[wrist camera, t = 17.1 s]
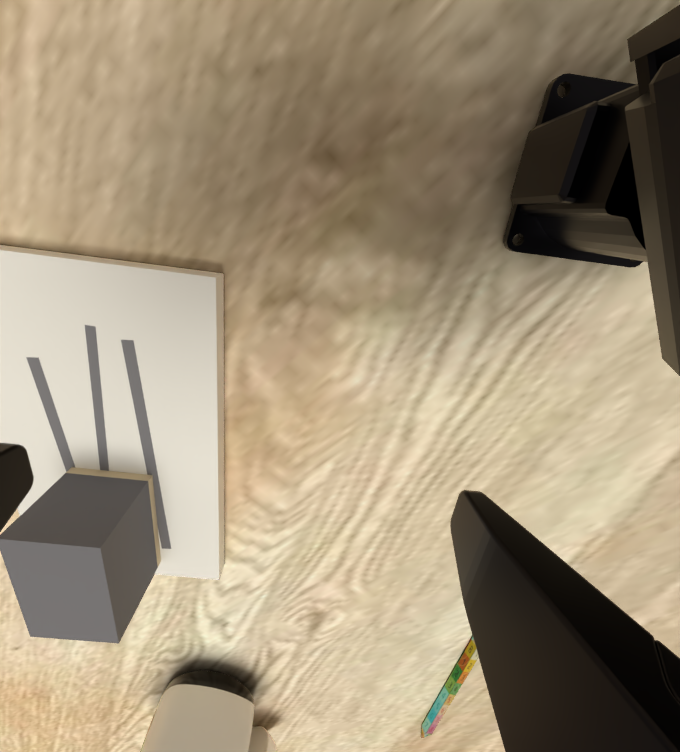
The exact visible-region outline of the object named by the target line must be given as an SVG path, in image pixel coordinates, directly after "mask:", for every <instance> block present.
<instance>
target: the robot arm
mask: <svg viewBox="0 0 680 752" xmlns="http://www.w3.org/2000/svg"><path fill="white" fill-rule="evenodd" d="M627 41H628V48H629V55H630V62H632V61H634V60H635V65H636V72H637V80H638V84H630V83H623V82H617V81H611V80H605V79H599V78H593V77H587V76H580V75H574V74H563V75H561V76H559V77H558V78H556V79H554V80H553V81H552V82H551V83H550V84H549V86H548V88H547V90H546V94H545V97H544V100H543V104H542V107H541V111H540V114H539V118H538V121H537V125H536V127H535V128H534V129H532V130H531V131H530V132H529V134H528V137H527V140H526V144H525V147H524V151H523V154H522V158H521V161H520V165H519V168H518V172H517V175H516V179H515V182H514V186H513V189H512V193H511V197H510V198H511V200H512V203H513V208H512V211H511V214H510V218H509V221H508V225H507V228H506V232H505V235H504V240H503V243H504V246H505V247H506V248H507V249H508V250H511V251H515V252H522V253H529V254H537V255H544V256H551V257H559V258H566V259H573V260H581V261H588V262H595V263H603V264H610V265H617V266H625V267H636V266H638V265H640V264H641V263H642V262H643V261H645V262H648V267H649V273H650V280H651V287H652V293H653V300H654V307H655V313H656V320H657V326H658V333H659V340H660V346H661V353H662V359H663V360H664V361H665V362H666V363H667V364H668V365H669V366H670V367H671V368H672V369H673V370H674V371H675V372H676V373H677V374H678V375H679V376H680V5H679V6H677V7H676V8H674V9H673V10H671V11H670V12H668V13H667V14H665V15H664V16H662V17H661V18H659V19H658V20H656V21H654V22H653V23H651V24H650V25H648V26H647V27H645V28H644V29H642V30H641V31H639V32H638V33H636V34H635V35H633V36H632V37H630V38H629V39H627ZM559 85H562V86H564V88H565V94H564V96H563V98H561V97H559V96H558V93H557V90H558V87H559ZM516 234H519V236H520V241H519V242H518V243H517V244H516V245H514V244H513V242H512V241H513V237H514V236H515V235H516ZM630 259H631V260H630ZM33 481H34V476H33V472H32V468H31V464H30V461H29V457H28V453H27V450H26V448H25V447H24V446H22V445H19V444H11V443H0V532H1V530H2V529H3V527H4V526H5V525H6V523H7V522H8V520H9V519H10V518H11V516H12V515H13V513H14V512H15V511H16V509H17V508H18V506H19V505H20V503H21V502H22V501H23V499H24V498H25V496H26V495H27V494H28V492H29V491H30V489H31V487H32V485H33ZM451 534H452V540H453V545H454V551H455V557H456V563H457V568H458V574H459V580H460V585H461V591H462V596H463V601H464V605H465V609H466V613H467V617H468V620H469V624H470V627H471V631H472V635H473V638H474V642H475V645H476V649H477V652H478V656H479V659H480V663H481V666H482V670H483V674H484V677H485V681H486V684H487V688H488V691H489V695H490V698H491V702H492V705H493V709H494V713H495V716H496V720H497V723H498V727H499V730H500V734H501V737H502V741H503V744H504V748H505V752H680V658H679V657H678V656H676V655H675V654H674V653H673V652H672V651H670V650H669V649H668V648H667V647H666V646H664V645H663V644H662V643H661V642H660V641H658V640H654V637H653V636H652V635H651V634H650V633H649V632H648V631H646V630H645V629H644V628H643V627H642V626H640V625H639V624H638V623H637V622H636V621H635V620H633V619H632V618H631V617H630V616H629V615H627V614H626V613H625V612H624V611H623V610H621V609H620V608H619V607H618V606H617V605H615V604H614V603H613V602H612V601H611V600H610V599H608V598H607V597H606V596H605V595H604V594H602V593H601V592H600V591H599V590H598V589H596V588H595V587H594V586H593V585H592V584H591V583H589V582H588V581H587V580H586V579H585V578H583V577H582V576H581V575H580V574H579V573H577V572H576V571H575V570H574V569H573V568H571V567H570V566H569V565H568V564H567V563H566V562H564V561H563V560H562V559H561V558H560V557H558V556H557V555H556V554H555V553H554V552H552V551H551V550H550V549H549V548H548V547H546V546H545V545H544V544H543V543H542V542H541V541H539V540H538V539H537V538H536V537H535V536H533V535H532V534H531V533H530V532H529V531H527V530H526V529H525V528H524V527H523V526H521V525H520V524H519V523H518V522H517V521H516V520H514V519H513V518H512V517H511V516H510V515H508V514H507V513H506V512H505V511H504V510H502V509H501V508H500V507H499V506H498V505H496V504H495V503H494V502H493V501H492V500H491V499H489V498H488V497H487V496H486V495H485V494H483V493H482V492H478V491H469V490H464V491H462V492H461V493H460V494H459V497H458V500H457V503H456V506H455V509H454V512H453V515H452V518H451Z"/></svg>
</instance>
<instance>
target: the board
mask: <svg viewBox="0 0 680 752" xmlns="http://www.w3.org/2000/svg"><path fill="white" fill-rule="evenodd" d="M0 443H11V444H19V445H22V446H24V447H25V448H26V450H27V453H28V457H29V461H30V464H31V468H32V472H33V476H34V481H33V485H32V487H31V489H30V491H29V492H28V494H27V495H26V496H25V498H24V499H23V501H22V502H21V503H20V505H19V506H18V512H19V515H20V516H21V515H22V514H23V513H24V512H25V511H26V510H27V509H28V508H29V507H30V506H31V505H32V504H33V503H34V502H36V501H37V500H38V499H39V498H40V497H41V496H42V495H43V494H44V493H45V492H46V491H47V490H48V489H49V488H50V487H51V486H52V485H53V484H54V483H56V482H57V481H58V480H59V479H60V478H61V477H62V476H63V475H64V474H65V473H66V472H67V471H68V470H69V469H70V468H71V467H75V468H85V469H95V470H105V471H115V472H125V473H135V474H145V475H152V476H153V486H154V496H155V506H156V515H157V525H158V535H159V545H160V554H161V562H160V564H159V566H158V568H157V570H156V572H155V574H156V575H168V576H179V577H191V578H202V579H214V580H219V579H220V576H221V573H222V570H223V567H224V273H216V272H208V271H201V270H193V269H185V268H177V267H169V266H162V265H154V264H146V263H138V262H130V261H123V260H115V259H107V258H99V257H91V256H84V255H76V254H68V253H60V252H52V251H45V250H37V249H29V248H21V247H14V246H6V245H0Z"/></svg>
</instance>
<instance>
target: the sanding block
mask: <svg viewBox="0 0 680 752" xmlns="http://www.w3.org/2000/svg"><path fill="white" fill-rule="evenodd" d="M0 551H1V554H2V557H3V560H4V562H5V565H6V568H7V571H8V574H9V577H10V580H11V582H12V585H13V588H14V591H15V594H16V597H17V600H18V602H19V605H20V608H21V611H22V614H23V617H24V620H25V622H26V625H27V628H28V631H29V634H30V637H43V638H56V639H69V640H82V641H95V642H108V643H119V642H120V640H121V638H122V636H123V634H124V632H125V630H126V628H127V626H128V624H129V623H130V621H131V619H132V617H133V615H134V613H135V611H136V609H137V607H138V605H139V603H140V601H141V599H142V597H143V595H144V593H145V591H146V589H147V587H148V586H149V584H150V582H151V580H152V578H153V576H154V574H155V572H156V570H157V568H158V566H159V564H160V562H161V554H160V545H159V535H158V525H157V515H156V506H155V496H154V486H153V476H152V475H145V474H135V473H125V472H115V471H105V470H95V469H85V468H75V467H71V468H70V469H69V470H68V471H67V472H66V473H65V474H64V475H63V476H62V477H61V478H60V479H59V480H58V481H57V482H56V483H54V484H53V485H52V486H51V487H50V488H49V489H48V490H47V491H46V492H45V493H44V494H43V495H42V496H41V497H40V498H39V499H38V500H37V501H36V502H34V503H33V504H32V505H31V506H30V507H29V508H28V509H27V510H26V511H25V512H24V513H23V514H22V515H21V516H20V517H19V518H18V519H17V520H16V521H14V522H13V523H12V524H11V525H10V526H9V527H8V528H7V529H6V530H5V531H4V532H3V533H2V534H1V535H0Z"/></svg>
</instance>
